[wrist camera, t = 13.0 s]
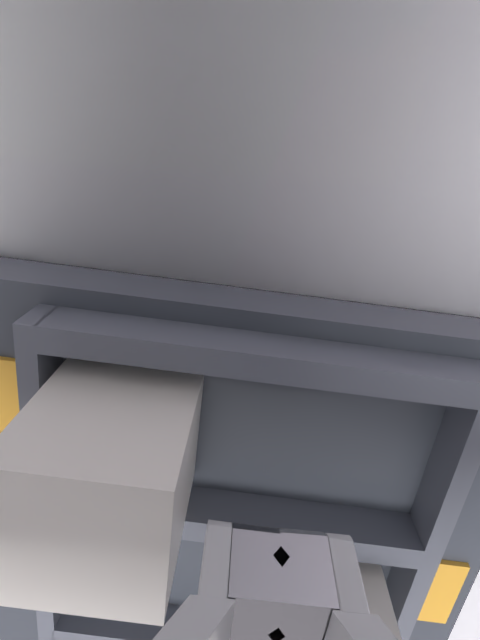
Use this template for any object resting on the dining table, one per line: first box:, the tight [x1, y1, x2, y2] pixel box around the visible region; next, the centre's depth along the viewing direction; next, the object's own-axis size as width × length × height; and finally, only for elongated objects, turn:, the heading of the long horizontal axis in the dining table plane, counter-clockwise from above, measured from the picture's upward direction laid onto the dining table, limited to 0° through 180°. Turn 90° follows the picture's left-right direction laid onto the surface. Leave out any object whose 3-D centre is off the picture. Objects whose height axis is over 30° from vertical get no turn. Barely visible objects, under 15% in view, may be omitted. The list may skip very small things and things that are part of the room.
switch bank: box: [0, 257, 480, 640], centre depth 17 cm, size 20×18×4 cm
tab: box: [0, 358, 204, 626], centre depth 12 cm, size 4×4×5 cm
